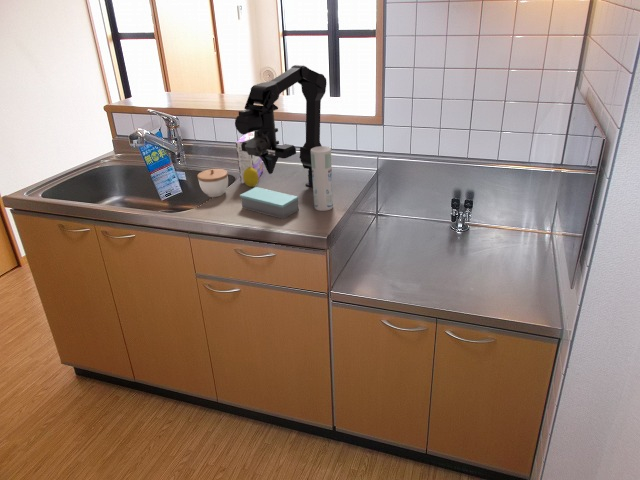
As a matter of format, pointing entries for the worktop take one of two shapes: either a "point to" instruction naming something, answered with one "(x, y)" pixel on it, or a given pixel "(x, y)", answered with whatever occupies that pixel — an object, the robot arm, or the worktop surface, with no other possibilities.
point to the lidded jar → (213, 182)
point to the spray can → (322, 178)
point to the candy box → (247, 157)
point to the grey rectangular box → (270, 208)
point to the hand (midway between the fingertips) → (270, 173)
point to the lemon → (250, 177)
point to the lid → (269, 197)
